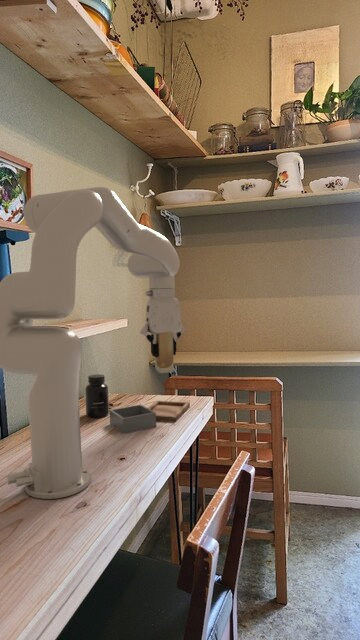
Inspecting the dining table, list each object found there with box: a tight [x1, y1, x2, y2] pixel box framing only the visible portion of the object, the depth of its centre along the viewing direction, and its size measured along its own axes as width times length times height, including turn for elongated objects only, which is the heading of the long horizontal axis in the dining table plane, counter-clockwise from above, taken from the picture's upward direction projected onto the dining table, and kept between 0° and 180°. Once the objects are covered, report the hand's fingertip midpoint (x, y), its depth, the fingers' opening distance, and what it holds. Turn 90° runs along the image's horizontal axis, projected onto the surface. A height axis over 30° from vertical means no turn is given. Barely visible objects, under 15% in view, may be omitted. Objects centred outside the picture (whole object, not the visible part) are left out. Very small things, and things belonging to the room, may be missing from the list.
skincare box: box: [154, 331, 175, 374], centre depth 132 cm, size 6×4×12 cm
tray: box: [140, 400, 191, 423], centre depth 134 cm, size 15×11×1 cm
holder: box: [109, 404, 157, 434], centre depth 123 cm, size 10×10×4 cm
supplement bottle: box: [84, 374, 110, 419], centre depth 133 cm, size 7×7×12 cm
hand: (164, 354), depth 132 cm, fingers closed on skincare box, 5 cm apart
